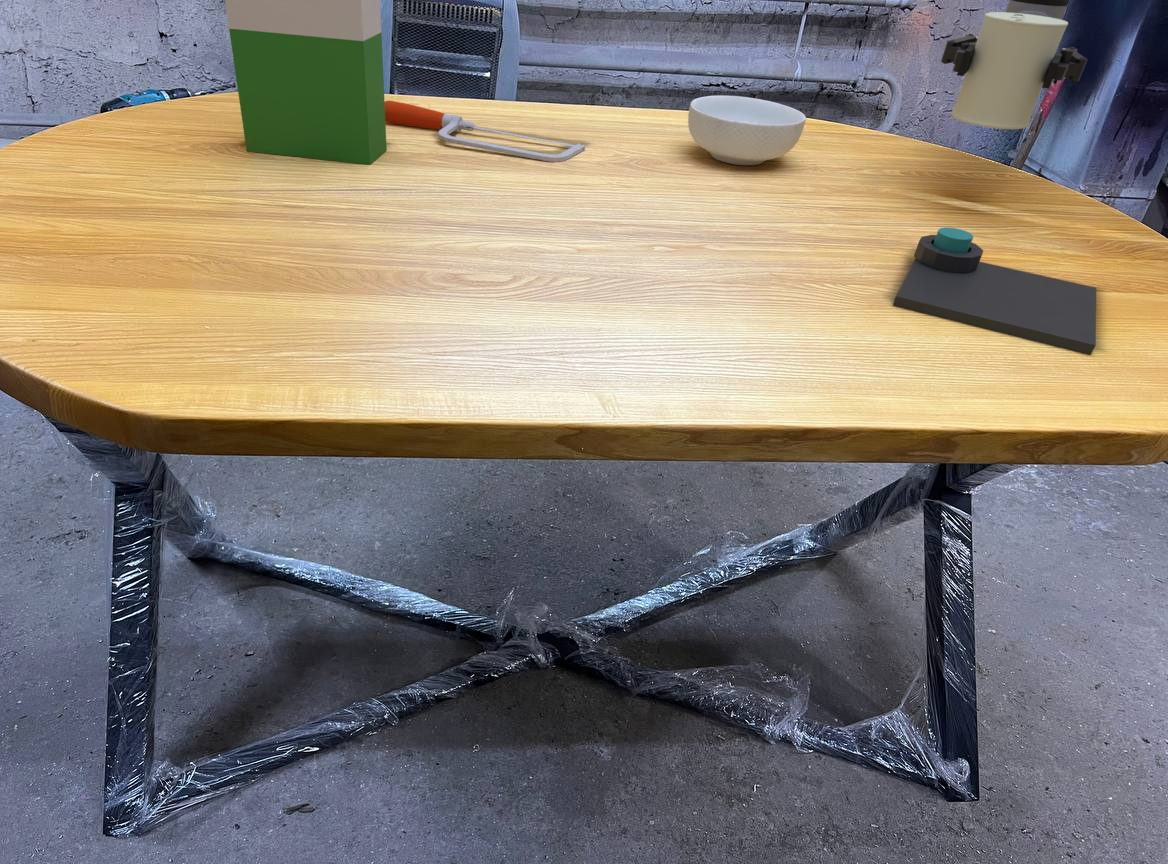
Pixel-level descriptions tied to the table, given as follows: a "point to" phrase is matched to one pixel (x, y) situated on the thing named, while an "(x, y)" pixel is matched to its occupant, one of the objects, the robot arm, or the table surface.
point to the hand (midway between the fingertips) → (1006, 69)
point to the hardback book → (310, 77)
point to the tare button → (953, 240)
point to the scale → (999, 298)
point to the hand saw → (454, 123)
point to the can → (1008, 69)
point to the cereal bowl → (744, 128)
